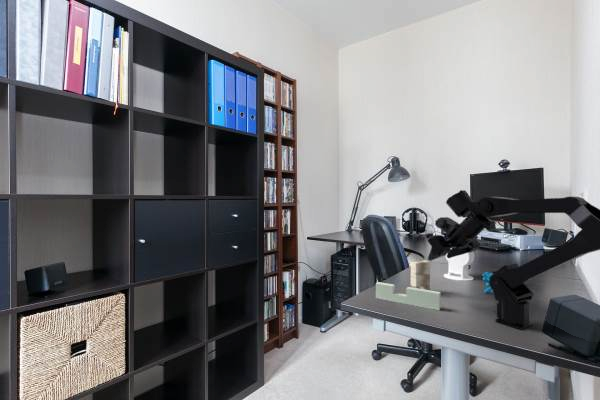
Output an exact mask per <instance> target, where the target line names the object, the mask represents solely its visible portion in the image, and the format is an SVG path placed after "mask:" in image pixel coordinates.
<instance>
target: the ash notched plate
mask: <svg viewBox="0 0 600 400" xmlns="http://www.w3.org/2000/svg"><path fill="white" fill-rule="evenodd" d="M410 287H412V288H418V289H420V287H421V289H424V290H430V291H431V261H429V260H425V259H424V260H417V261H411V262H410Z"/></svg>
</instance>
